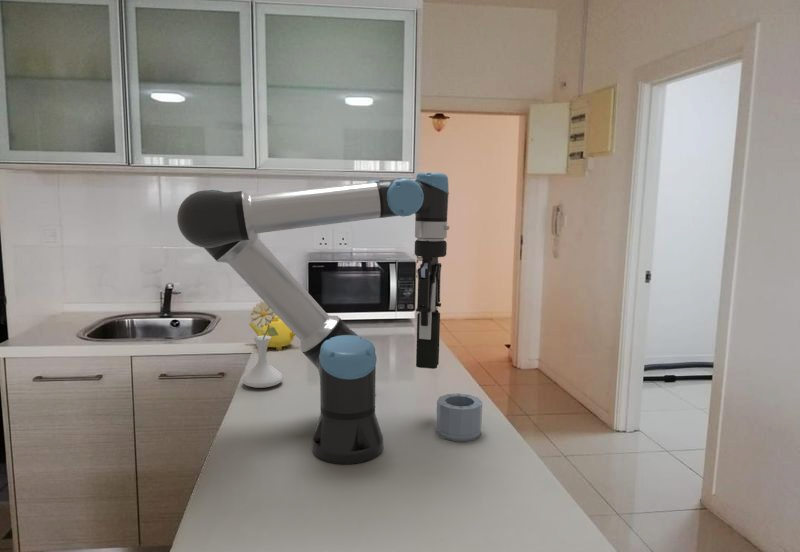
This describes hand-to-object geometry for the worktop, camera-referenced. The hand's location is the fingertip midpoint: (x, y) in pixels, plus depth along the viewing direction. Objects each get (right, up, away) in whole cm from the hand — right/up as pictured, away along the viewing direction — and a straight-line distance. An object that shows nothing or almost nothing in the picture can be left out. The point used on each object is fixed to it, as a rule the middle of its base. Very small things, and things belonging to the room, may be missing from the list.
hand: (428, 335), depth 135 cm
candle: (0, -7, +1) cm, 7 cm away
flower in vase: (-45, -17, +25) cm, 55 cm away
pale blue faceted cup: (+7, -22, -5) cm, 23 cm away
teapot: (-51, -11, +66) cm, 85 cm away
